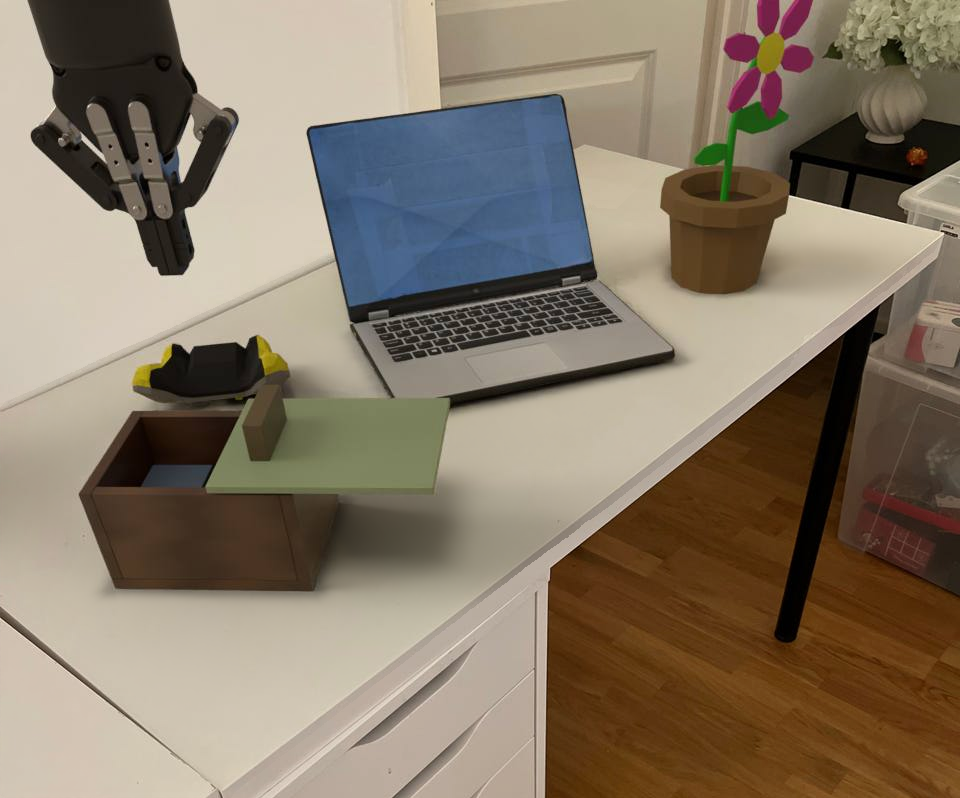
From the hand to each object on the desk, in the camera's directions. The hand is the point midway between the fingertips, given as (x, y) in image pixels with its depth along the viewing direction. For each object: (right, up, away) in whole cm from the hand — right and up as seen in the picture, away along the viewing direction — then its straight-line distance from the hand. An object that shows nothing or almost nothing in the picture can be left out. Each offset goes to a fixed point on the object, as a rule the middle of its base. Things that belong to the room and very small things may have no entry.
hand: (175, 270), depth 65 cm
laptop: (+22, +10, +43) cm, 50 cm away
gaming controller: (-6, 0, +34) cm, 35 cm away
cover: (+9, -10, +9) cm, 16 cm away
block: (-4, -16, +15) cm, 22 cm away
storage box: (0, -17, +16) cm, 23 cm away
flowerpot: (+48, +19, +51) cm, 73 cm away
